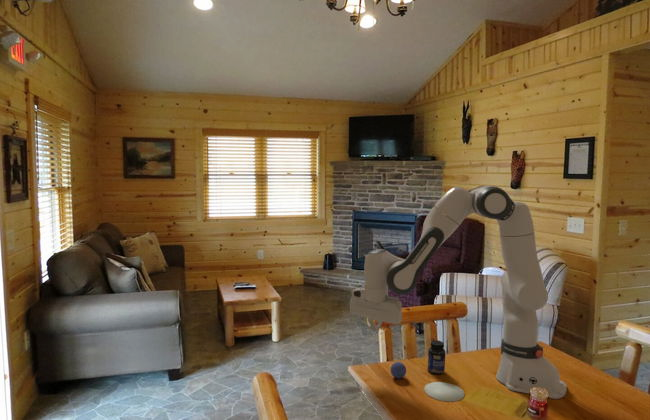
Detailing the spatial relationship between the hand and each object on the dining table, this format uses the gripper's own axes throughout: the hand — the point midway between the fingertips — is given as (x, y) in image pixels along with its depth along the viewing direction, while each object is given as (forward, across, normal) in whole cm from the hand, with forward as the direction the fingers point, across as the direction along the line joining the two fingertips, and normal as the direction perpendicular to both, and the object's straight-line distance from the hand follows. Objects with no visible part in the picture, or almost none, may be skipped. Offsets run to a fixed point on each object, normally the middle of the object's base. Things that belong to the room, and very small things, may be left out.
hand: (374, 330), depth 166 cm
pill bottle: (+15, -19, -13) cm, 28 cm away
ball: (+12, -10, 0) cm, 16 cm away
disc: (+15, -27, 0) cm, 31 cm away
